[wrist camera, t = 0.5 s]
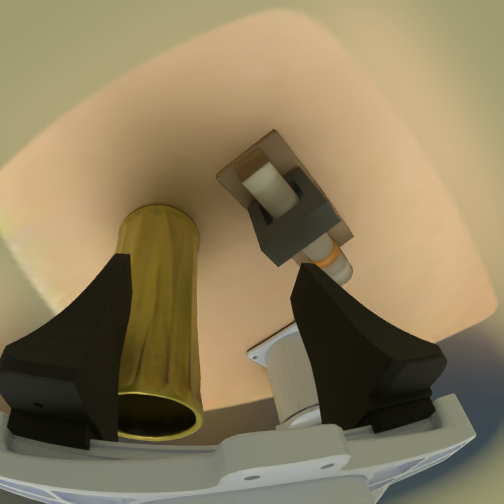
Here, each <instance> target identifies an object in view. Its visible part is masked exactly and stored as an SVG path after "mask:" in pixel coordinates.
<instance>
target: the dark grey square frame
mask: <svg viewBox="0 0 504 504" xmlns="http://www.w3.org/2000/svg"><path fill="white" fill-rule="evenodd" d="M283 179H284V180H285V181H286V182H287V183H288V185H289V186H290V187H291V188H292V190H293V191H294V192H295V193H296V195H297V196H298V197H299V198H300V199H302V198H303V197H304V196H306V198H304V199H303V200H302V201H300V202H299V203H298V204H296V205H295V206H294V207H292V208H291V209H290V210H288V211H287V212H286V213H284V214H283V215H282V216H280V217H279V218H278V219H276V220H275V221H274V222H273V220H274V218H273V217H272V216H271V215H270V213H269V212H268V211H267V210H266V209H265V208H264V207H263V206H262V205H261V204H260V202H259V201H258V200H257V199H256V200H255V201H254V202H252V203H251V204H250V205H248V206H247V208H248V211H249V214H250V217H251V220H252V223H253V226H254V230H255V233H256V236H257V239H258V242H259V245H260V248H261V251H262V252H263V253H264V254H265V255H266V256H267V257H268V258H269V259H271V260H272V261H273V262H274V263H275V264H276V265H277V266H278V267H279V266H280V265H282V264H283V263H285V262H286V261H287V260H289V259H290V258H292V257H293V256H294V255H296V254H297V253H298V252H300V251H301V250H303V249H304V248H305V247H307V246H308V245H309V244H311V243H312V242H314V241H315V240H316V239H318V238H319V237H320V236H322V235H323V234H325V233H326V232H327V231H329V230H330V229H331V228H333V227H334V226H335V225H337V224H338V223H339V222H341V220H340V218H339V217H338V215H337V214H336V213H335V211H334V210H333V208H332V207H331V205H330V204H329V203H328V201H327V200H326V199H325V198H324V196H323V195H322V194H321V193H320V191H319V190H318V189H317V188H316V186H315V185H314V184H313V183H312V182H311V180H310V179H309V178H308V177H307V175H306V174H305V173H304V172H303V171H302V170H301V168H300V167H298V168H296V169H295V170H294V171H292V172H291V173H290V174H289V175H287V176H286V177H285V178H283Z"/></svg>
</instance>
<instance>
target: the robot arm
mask: <svg viewBox="0 0 504 504" xmlns="http://www.w3.org/2000/svg"><path fill="white" fill-rule="evenodd" d="M132 294H133V290H132V276H131V259H130V254H122V253H116V254H114V255H113V257H112V258H111V259H110V260H109V262H108V263H107V264H106V266H105V267H104V268H103V269H102V270H101V272H100V273H99V274H98V275H97V276H96V278H95V279H94V280H93V281H92V282H91V283H90V285H89V286H88V287H87V288H86V289H85V290H84V291H83V292H82V293H81V294H80V295H79V296H78V297H77V298H76V299H75V300H74V301H73V302H72V303H71V304H70V305H69V306H68V307H66V308H65V309H64V310H63V311H62V312H61V313H59V314H58V315H57V316H55V317H54V318H53V319H51V320H50V321H49V322H47V323H46V324H44V325H43V326H41V327H40V328H38V329H37V330H35V331H33V332H32V333H30V334H29V335H27V336H25V337H23V338H21V339H19V340H17V341H15V342H13V343H11V344H9V345H7V346H6V347H5V349H4V351H3V354H2V356H1V358H0V394H1V395H2V397H3V398H4V400H5V401H6V402H7V403H8V405H9V406H10V407H11V413H10V417H9V416H8V415H6V414H5V413H2V412H0V488H1V489H4V490H6V491H9V492H12V493H15V494H18V495H22V496H24V497H28V498H31V499H34V500H38V501H41V502H44V503H47V504H376V502H377V501H378V500H379V498H380V497H381V496H382V494H383V493H384V492H385V490H386V489H387V488H388V486H389V485H390V484H393V483H395V482H398V481H400V480H402V479H404V478H407V477H409V476H411V475H414V474H416V473H418V472H420V471H422V470H425V469H427V468H429V467H431V466H433V465H436V464H438V463H439V462H442V461H444V460H445V459H447V458H448V457H449V456H451V455H452V454H453V453H455V452H456V451H458V450H459V449H460V448H462V447H463V446H464V445H466V444H467V443H468V442H469V441H471V440H472V439H473V438H475V436H476V433H475V431H474V429H473V427H472V425H471V423H470V422H469V420H468V418H467V416H466V414H465V412H464V410H463V408H462V407H461V405H460V403H459V401H458V399H457V397H456V396H455V394H450V395H447V396H444V397H441V398H438V399H436V400H435V401H433V402H432V401H431V399H430V396H431V395H432V391H431V389H430V386H431V385H432V384H433V383H434V382H435V381H436V379H437V378H438V377H439V376H440V375H441V374H442V372H443V371H444V369H445V367H446V365H447V359H446V357H445V356H444V354H443V353H442V351H441V349H440V348H439V346H438V345H436V344H433V343H430V342H428V341H425V340H422V339H420V338H417V337H415V336H413V335H411V334H409V333H407V332H405V331H403V330H401V329H399V328H397V327H395V326H394V325H392V324H390V323H388V322H387V321H385V320H383V319H382V318H380V317H379V316H377V315H376V314H374V313H373V312H371V311H370V310H369V309H367V308H366V307H365V306H363V305H362V304H361V303H360V302H358V301H357V300H356V299H355V298H353V297H352V296H351V295H350V294H349V293H347V292H346V291H345V290H344V289H343V288H342V287H341V286H340V285H338V284H337V283H336V282H335V281H334V280H333V279H332V278H331V277H330V276H329V275H328V274H326V273H325V272H324V271H323V270H322V269H321V268H320V267H318V266H317V265H316V264H315V263H301V266H300V269H299V273H298V276H297V279H296V282H295V285H294V288H293V291H292V294H291V297H290V300H291V305H292V310H293V314H294V319H295V323H293V324H292V325H290V326H289V327H287V328H285V329H284V330H282V331H281V332H279V333H278V334H276V335H274V336H273V337H271V338H270V339H268V340H266V341H265V342H263V343H261V344H260V345H258V346H257V347H255V348H253V349H252V350H250V351H248V352H247V357H248V358H250V359H251V360H253V361H255V362H256V363H258V364H260V365H261V366H263V367H265V368H266V369H267V371H268V375H269V379H270V383H271V388H272V392H273V396H274V400H275V404H276V408H277V412H278V416H279V420H280V424H281V425H278V426H276V430H273V431H263V432H251V433H245V434H239V435H235V436H232V437H230V438H227V439H225V440H224V441H223V442H221V444H219V445H216V446H166V445H145V444H130V443H119V442H118V386H119V371H120V362H121V355H122V350H123V346H124V341H125V336H126V331H127V327H128V322H129V318H130V312H131V303H132Z"/></svg>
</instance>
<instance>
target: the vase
mask: <svg viewBox="0 0 504 504" xmlns="http://www.w3.org/2000/svg"><path fill="white" fill-rule="evenodd" d="M198 249H199V234H198V231H197V229H196V227H195V225H194V223H193V222H192V221H191V219H190V218H189V217H188V216H186V215H185V214H184V213H182V212H181V211H179V210H177V209H175V208H172V207H169V206H164V205H151V206H146V207H143V208H140V209H138V210H136V211H135V212H133V213H132V214H130V215H129V216H128V217H127V218H126V219H125V221H124V222H123V224H122V226H121V228H120V230H119V236H118V243H117V247H116V251H115V254H116V253H122V254H130V259H131V276H132V290H133V294H132V303H131V312H130V318H129V322H128V327H127V331H126V336H125V341H124V346H123V350H122V355H121V362H120V371H119V386H118V435H119V436H122V437H126V438H130V439H137V440H146V441H165V440H173V439H178V438H182V437H185V436H188V435H190V434H192V433H194V432H195V431H197V430H198V429H199V428H200V427H201V426H202V423H203V405H202V400H201V393H200V380H201V376H200V362H199V347H198V332H197V253H198Z"/></svg>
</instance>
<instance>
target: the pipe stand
mask: <svg viewBox="0 0 504 504" xmlns="http://www.w3.org/2000/svg"><path fill="white" fill-rule="evenodd" d="M298 167H300V168H301V170H302V171H303V172H304V173H305V174H306V175H307V177H308V178H309V179H310V180H311V182H312V183H313V184H314V185H315V186H316V188H317V189H318V190H319V191H320V193H321V194H322V195H323V196H324V198H325V199H326V200H327V201H328V203H329V204H330V205H331V207H332V208H333V210H334V211H335V213H336V214H337V215H338V217H339V218H340V220H341V222H339V223H338V224H337V225H335V226H334V227H333V228H331V229H330V230H329V231H327V232H326V233H325V234H323V235H322V236H320V237H319V238H318V239H316V240H315V241H314V242H312V243H311V244H309V245H308V246H307V247H305V248H304V249H303V250H301V251H300V252H298V253H297V254H296V255H294V256H293V257H292V258H293V259H294V260H295V261H296V263H297V264H298V265H299V266H301V263H315V264H316V265H317V266H318V267H320V268H321V269H322V270H323V271H324V272H325V273H326V274H328V275H329V276H330V277H331V278H332V279H333V280H334V281H335V282H336V283H337V284H338V285H343V284H345V283H346V282H348V281H349V279H350V278H351V276H352V274H353V268H352V266H351V264H350V263H349V261H348V260H347V258H346V257H345V255H344V254H343V252H342V251H341V249H340V247H341V246H342V245H343V244H345V243H346V242H347V241H349V240H350V239H351V238H353V237H354V236H353V234H352V233H351V231H350V230H349V228H348V227H347V225H346V224H345V222H344V221H343V219H342V218H341V217H340V215H339V214H338V212H337V211H336V209H335V208H334V207H333V205H332V204H331V202H330V201H329V200H328V198H327V197H326V195H325V194H324V193H323V191H322V190H321V188H320V187H319V186H318V184H317V183H316V182H315V180H314V179H313V178H312V176H311V175H310V174H309V172H308V171H307V170H306V168H305V167H304V166H303V164H302V163H301V162H300V160H299V159H298V158H297V156H296V155H295V154H294V152H293V151H292V150H291V149H290V147H289V146H288V145H287V143H286V142H285V141H284V140H283V138H282V137H281V136H280V135H279V133H278V132H277V131H276V130H275V129H274V130H272V131H271V132H270V133H268V134H267V135H266V136H265V137H263V138H262V139H261V140H259V141H258V142H257V143H256V144H254V145H253V146H252V147H250V148H249V149H248V150H247V151H245V152H244V153H243V154H242V155H240V156H239V157H238V158H237V159H236V160H234V161H233V162H232V163H231V164H229V165H228V166H227V167H226V168H225V169H223V170H222V171H221V172H220V173H218V174H217V175H216V178H217V180H218V181H219V182H220V183H221V184H222V185H223V186H224V187H225V188H226V189H227V190H228V191H229V192H230V193H231V194H232V195H233V196H234V197H235V198H236V199H237V200H238V201H239V203H240V204H241V205H242V206H243V207H244V208H245V209H246V210H247V211H248V208H247V206H248V205H250V204H251V203H252V202H254V201H255V200H256V199H257V200H258V201H259V202H260V204H261V205H262V206H263V207H264V208H265V209H266V210H267V211H268V212H269V213H270V215H271V216H272V217H273V218H274V220H273V222H274V221H275V220H276V219H278V218H279V217H280V216H282V215H283V214H284V213H286V212H287V211H288V210H290V209H291V208H292V207H294V206H295V205H296V204H298V203H299V202H300V201H302V200H303V199H304V198H306V196H304V197H303V198H302V199H300V198H299V197H298V196H297V195H296V193H295V192H294V191H293V190H292V188H291V187H290V186H289V185H288V183H287V182H286V181H285V180H284V179H283V178H285V177H286V176H287V175H289V174H290V173H291V172H292V171H294V170H295V169H296V168H298ZM248 212H249V211H248Z"/></svg>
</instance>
